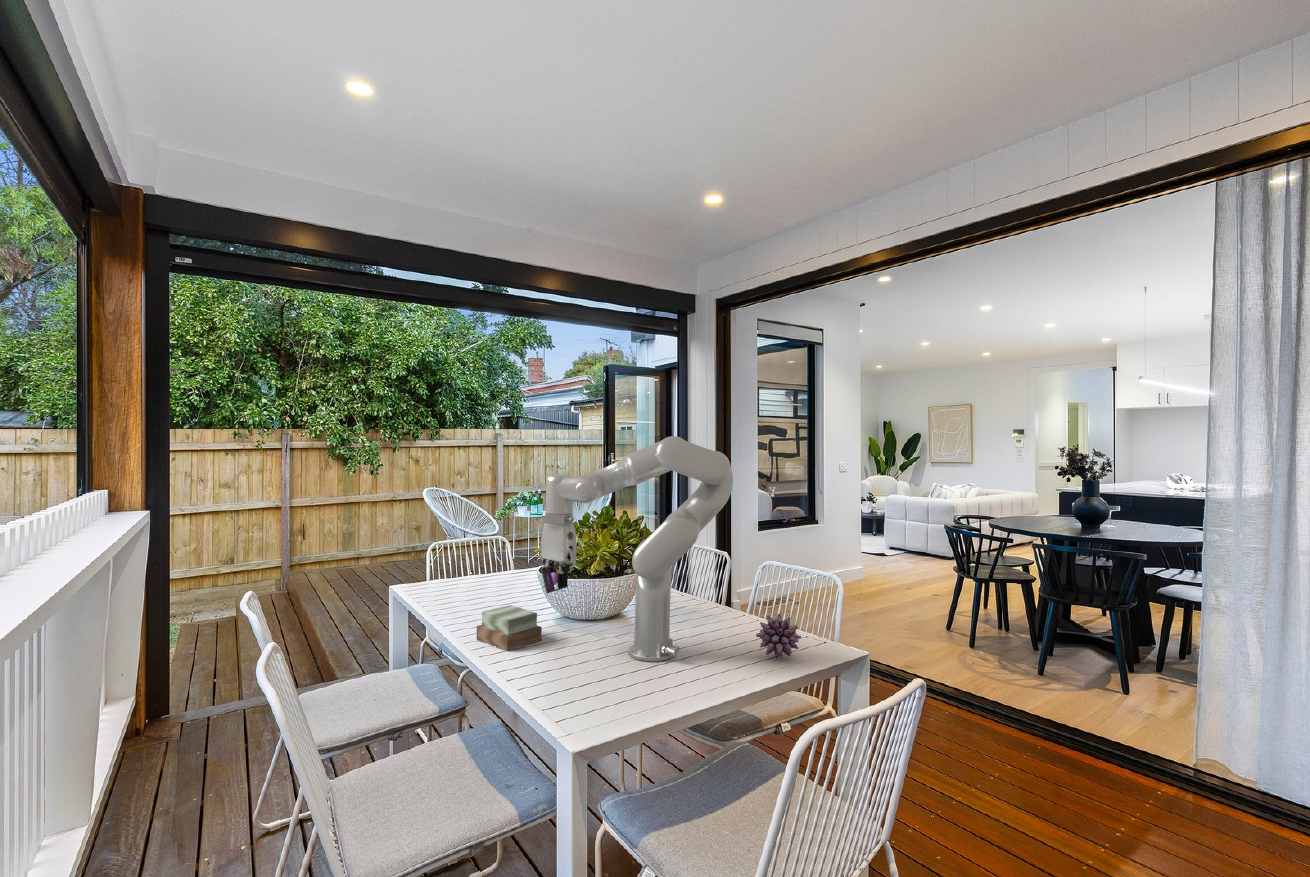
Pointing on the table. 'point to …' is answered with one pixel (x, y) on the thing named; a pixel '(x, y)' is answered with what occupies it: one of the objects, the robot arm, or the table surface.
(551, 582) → the purple product box
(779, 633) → the purple spiky ball
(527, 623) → the tower stack
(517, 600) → the table surface
